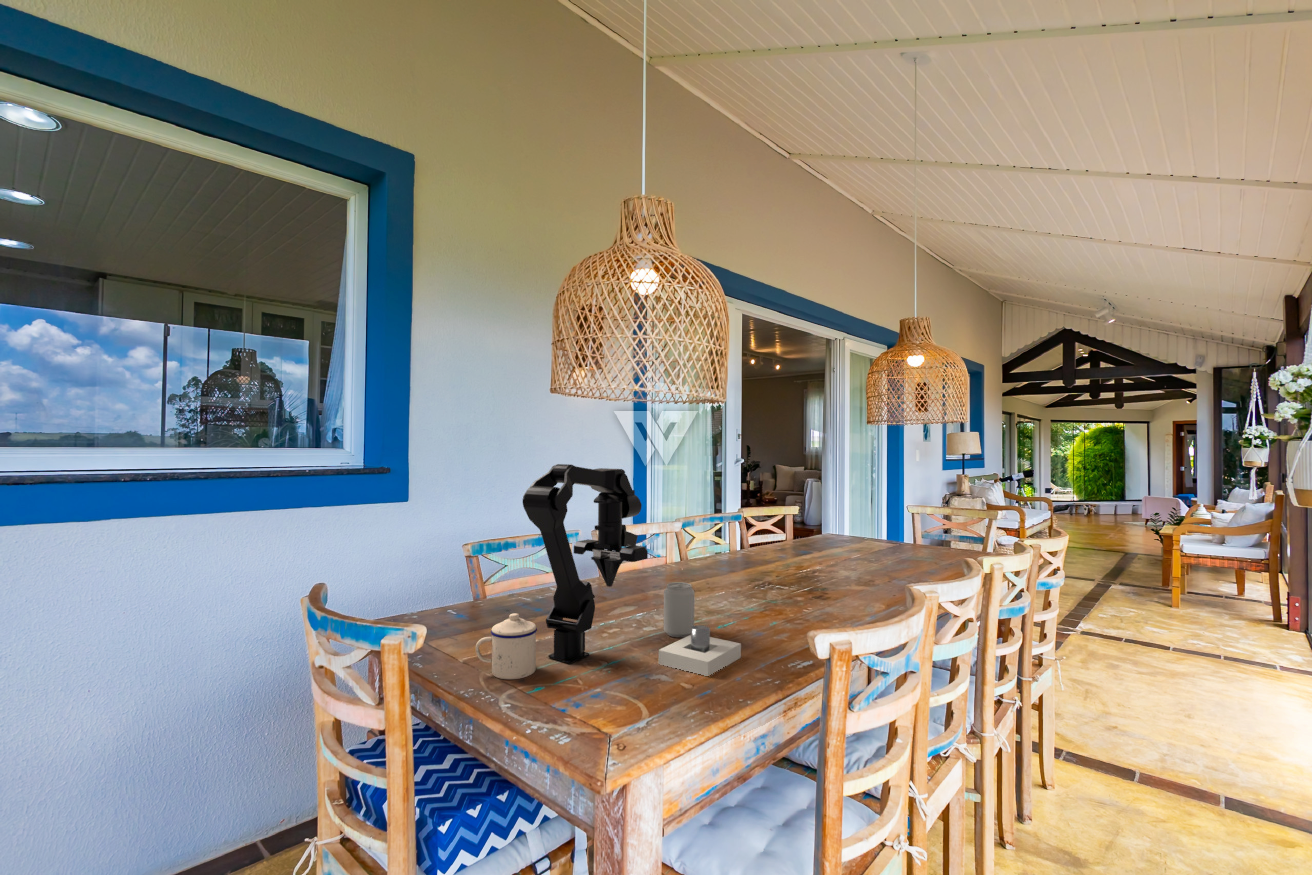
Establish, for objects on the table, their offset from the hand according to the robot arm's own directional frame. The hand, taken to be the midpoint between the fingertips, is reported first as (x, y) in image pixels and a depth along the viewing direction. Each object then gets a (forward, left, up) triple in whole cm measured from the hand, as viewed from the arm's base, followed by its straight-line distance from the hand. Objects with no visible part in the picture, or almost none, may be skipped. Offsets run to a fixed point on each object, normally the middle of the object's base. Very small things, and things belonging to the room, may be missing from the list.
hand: (609, 586), depth 149 cm
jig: (-1, -26, -12) cm, 29 cm away
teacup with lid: (-30, +2, -12) cm, 32 cm away
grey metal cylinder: (-1, -26, -12) cm, 29 cm away
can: (+12, -12, -12) cm, 21 cm away
